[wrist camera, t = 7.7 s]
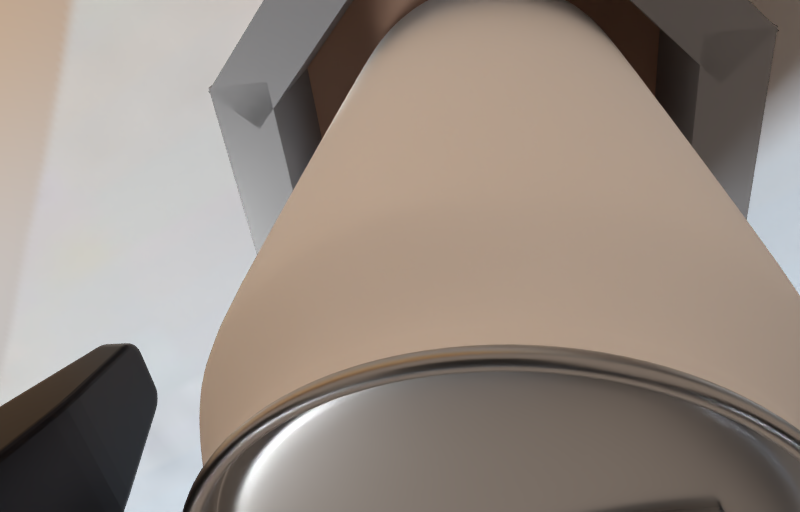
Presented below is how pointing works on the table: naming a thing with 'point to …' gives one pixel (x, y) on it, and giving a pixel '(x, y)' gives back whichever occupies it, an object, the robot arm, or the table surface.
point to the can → (504, 298)
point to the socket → (388, 3)
